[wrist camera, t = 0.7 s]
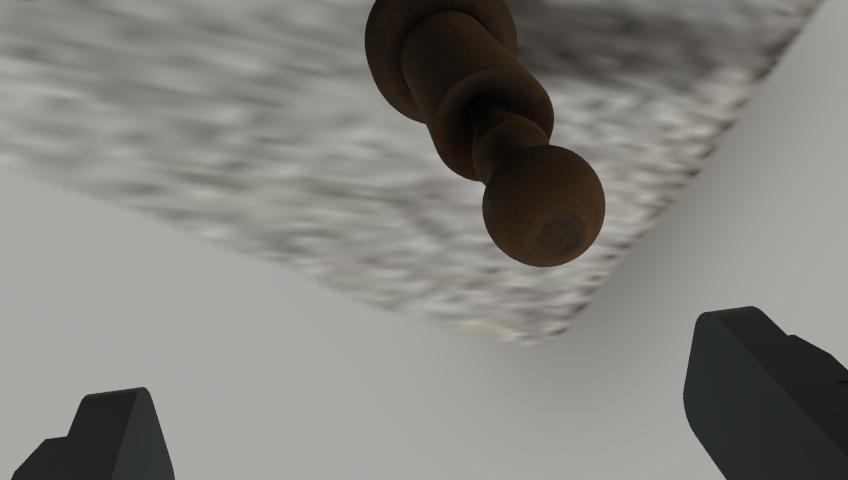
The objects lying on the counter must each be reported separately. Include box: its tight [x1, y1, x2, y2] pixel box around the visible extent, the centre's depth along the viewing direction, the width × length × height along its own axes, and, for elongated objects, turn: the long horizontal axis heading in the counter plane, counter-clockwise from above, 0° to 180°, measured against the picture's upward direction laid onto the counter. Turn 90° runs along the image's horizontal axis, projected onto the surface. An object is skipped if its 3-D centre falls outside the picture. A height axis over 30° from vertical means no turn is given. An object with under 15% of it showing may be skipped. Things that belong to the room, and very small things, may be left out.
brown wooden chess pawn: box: [365, 0, 605, 267], centre depth 24 cm, size 7×6×18 cm
